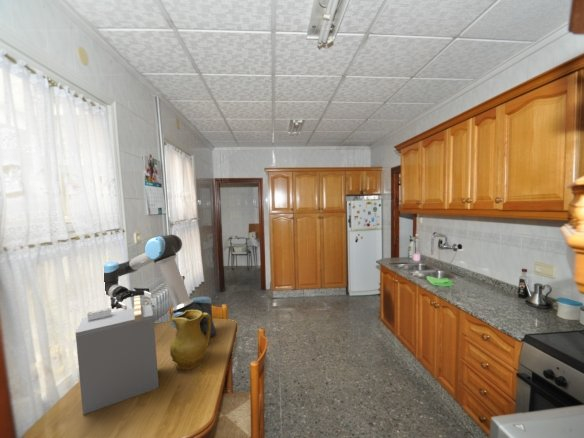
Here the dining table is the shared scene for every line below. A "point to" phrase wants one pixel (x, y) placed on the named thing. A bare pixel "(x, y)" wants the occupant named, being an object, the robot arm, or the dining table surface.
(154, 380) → the stand
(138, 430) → the dining table surface
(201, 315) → the pitcher
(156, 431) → the dining table surface
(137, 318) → the rod
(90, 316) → the ridge
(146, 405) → the dining table surface
